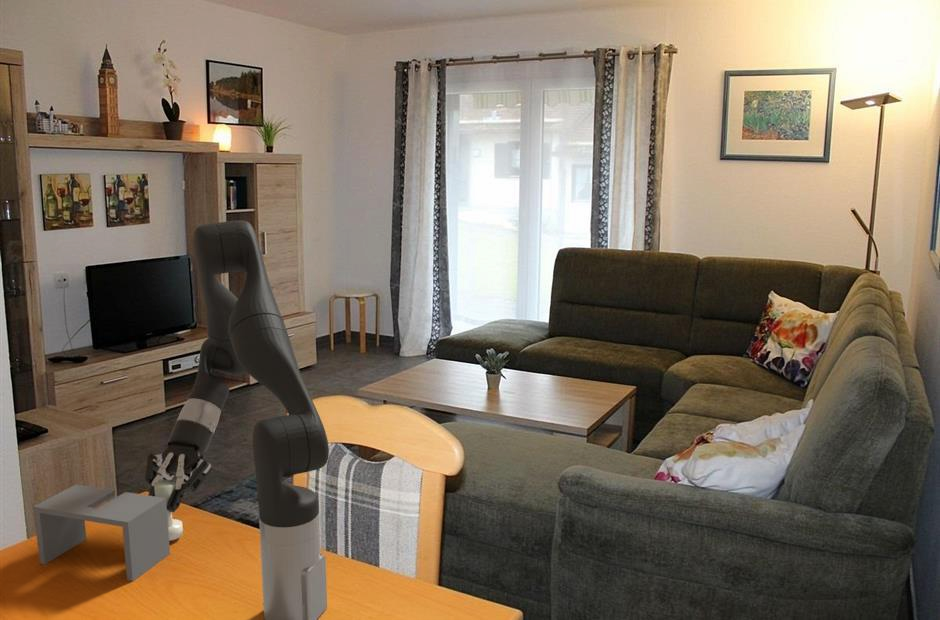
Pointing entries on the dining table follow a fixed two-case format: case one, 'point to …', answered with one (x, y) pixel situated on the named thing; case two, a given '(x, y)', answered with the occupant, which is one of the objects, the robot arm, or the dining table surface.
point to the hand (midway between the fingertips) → (160, 508)
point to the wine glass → (174, 525)
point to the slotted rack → (134, 512)
